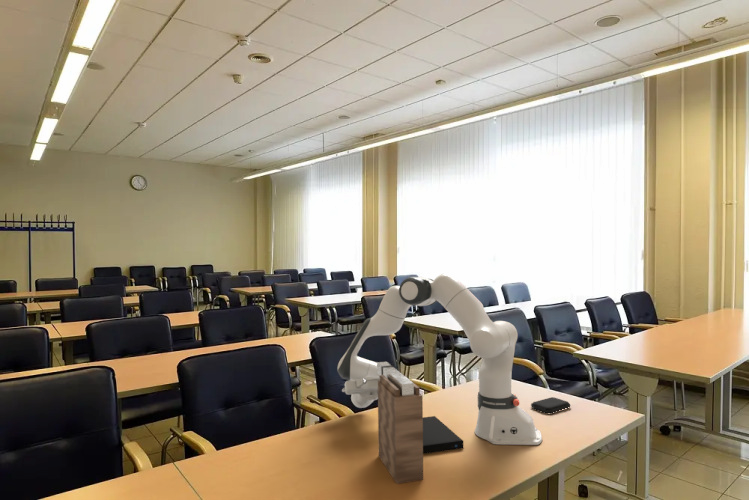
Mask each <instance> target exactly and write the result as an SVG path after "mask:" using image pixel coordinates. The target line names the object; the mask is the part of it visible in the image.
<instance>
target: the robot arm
mask: <svg viewBox="0 0 749 500" xmlns="http://www.w3.org/2000/svg"><path fill="white" fill-rule="evenodd" d="M437 302H438V303H439V304H440V305H441V306H442V307H443V308H444V309H445V310H446V311H447V312H448V313H449V314H450V315H451V317H452V318H453V319H454V320H455V321H456V323H458V325H459V326H460V327H461V329H462V330H463V332H464V333H465V335H466V337H467V339H468V342H469V346H470V349H471V352H472V353H473V354H474V355H475V356H477V357H479V358H480V359H482V360H481V364H480V367H479V368H478V369H479V370H478V392H477V409H478V412H477V414H478V415H477V421H476V425H475V429H474V434H475V435H476V436H477V437H479V438H481V439H484V440H486V441H488V442H489V443H491V444H493V445H505V446H506V445H508V446H511V445H512V446H513V445H514V446H515V445H517V446H518V445H521V446H522V445H523V446H530V445H531V446H533V445H534V446H538V445H540V444H541V443H542V441H543V437H542V436H543V435H542V433H541V431H540V430H539V429H538V428H536V426H535V422H534V419H533V417H532V416H531V414H530V413H528V412H527V411H525V410H524V409H523V408H522V407H520V400H519V399H518V396H517V395H516V394H514V393H512V371H513V364H514V356H515V350H516V344H517V341H518V330H517V328H516V326H515V325H514V324H512V323H511V322H508V321H505V320H495V321H493V320H492V319H491V318H490V317H489V315H488V314H487V312H486V310H485V308H484V305H483V303H482V302H481V301H480V300H479V299H478V298H477V297H476V296H475V295H474V294H473V292H471V291H470V290H469V288H468V287H466V285H464V284H463V283H462V282H461V281H460V280H459V279H457V277H455V276H453V275H452V274H449V273H442V274H440V275H438V276H436V278H434V279H431V278H427V277H424V276H410V277H407V278H405V279H404V280H402V281H401V283H400V284H399V285H392V286H390V287H389V288H388V289H387V291H386V292H385V294H384V295H383V298H382V300H381V302H380V304H379V308H378V309H377V311H376V313H375V314H374V315H373V316H372V317H369V318H366V319H365V320H364V321H363V323H362V324H361V326H360V327H359V329H358V330H357V332H356V334H355V336H354V337H353V339H352V340H351V343H350V345H349V346H348V348H347V349H346V351H345V353H344V354H343V356H342V357H341V358H340V360H339V362H338V364H337V370H336V371H337V373H338V375H339V376H340V378H341V379H343V380H346V381H345V382H344V387H343V388H342V389H341V392H342V393H345V395H351V397H350V399H351V402H352V404H353V405H354V406H355V407H356V408H359V409H362V408H363V409H364V408H367V407H369V406H370V405H371V404H372V403H374V401H378V381H380V375H379V374H378V373H377V361H373V360H369V359H366V358H364V357H360V356H358V354H359V352H360V350H361V348H362V346H363V344H364V343H365V341H366V340H367V339H368V338H370V337H374V336H375V337H376V336H390V335H393V334H395V333H397V332H399V331H400V330H401V328H402V326H403V324H404V321H405V319H406V316H407V313H408V311H409V309H410V308H411V307H412V306H417V307H425V306H427V307H428V306H432V305H435V304H436V303H437Z"/></svg>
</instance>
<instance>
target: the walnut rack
mask: <svg viewBox="0 0 749 500" xmlns="http://www.w3.org/2000/svg"><path fill="white" fill-rule="evenodd" d="M423 402H424V401H423V395H422V394H421V393H420V387H419V386H418V385H417V384H416V383H414V395H412V396H401V395H400V390H399V389H398V388H397V387H396V386H395V385H394V384H393V383H392V382H391V381H389V380H388V379H387V378H386V377H385V376H384V375H380V381H378V399H377V413H378V415H377V424H378V426H377V429H378V430H377V432H378V435H377V436H378V438H377V439H378V457H379V459H380V460H381V462H382V463H383V465H384V467H385V468H386V469H387V471H388V472H389V475H390V476H391V477H392V479H393V480H394V482H395V483H396V484H397V485H398V484H404V483H409V482H416V481H417V482H418V481H422V480H424V454H423V416H424V415H423V414H424V413H423Z"/></svg>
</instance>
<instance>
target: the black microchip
mask: <svg viewBox="0 0 749 500" xmlns="http://www.w3.org/2000/svg"><path fill="white" fill-rule="evenodd" d="M530 407H531V408H532V410H534V409H536V410H535V411H537V410H539V411H538V412H540V411H542V412H545V413H552V414H554V413H553V412H556V411H559V410H562V409H565V408H568V407H569V408H570V407H571V404H570V402H569V401H567V400H564V399H560V398H558V397H552V396H551V397H547V398H544V399H540V400H537V401H533V402H531V403H530ZM569 408H568V409H569ZM542 412H541V413H542ZM559 412H560V411H559ZM545 413H544V414H545ZM556 413H557V412H556Z"/></svg>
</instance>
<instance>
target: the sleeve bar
mask: <svg viewBox="0 0 749 500" xmlns="http://www.w3.org/2000/svg"><path fill="white" fill-rule="evenodd" d="M376 363H377V373H378V374H379V375H384V376H385V377H386V378H387V379H388V380H389V381H391V382H392V383H393V384H394V385H395V386H396V387H397V388H398V389H399V390H400V395H401V396H412V395H414V384H415V383H414V382H413V381H412V380H411V379H409V378H408V377H407V376H405V374H403V373H401V371H399V370H398V369H397V368H395V367H394V365H391V363H389V362H388V361H379V362H378V361H376Z"/></svg>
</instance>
